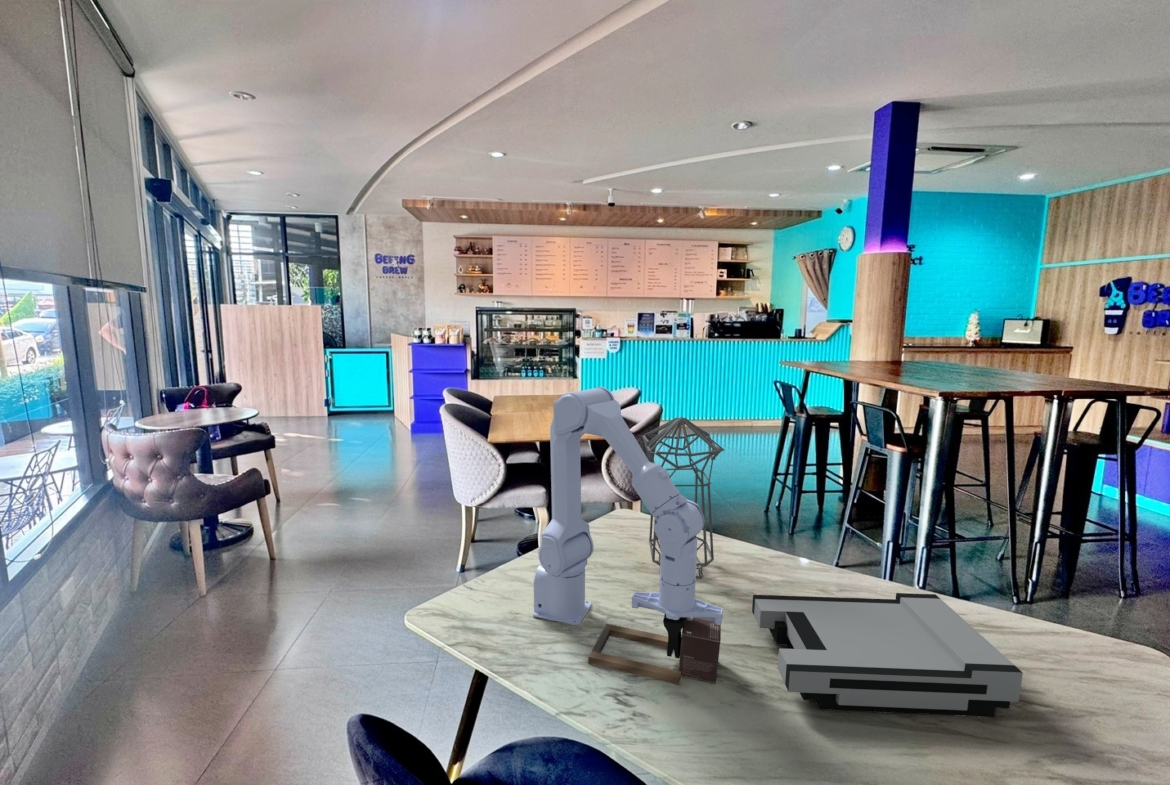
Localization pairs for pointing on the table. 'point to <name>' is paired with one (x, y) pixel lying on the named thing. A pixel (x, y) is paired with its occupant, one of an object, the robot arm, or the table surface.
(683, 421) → the geometric lantern
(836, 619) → the game console
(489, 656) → the table surface
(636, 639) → the wooden u-shaped frame
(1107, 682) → the table surface
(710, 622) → the box
